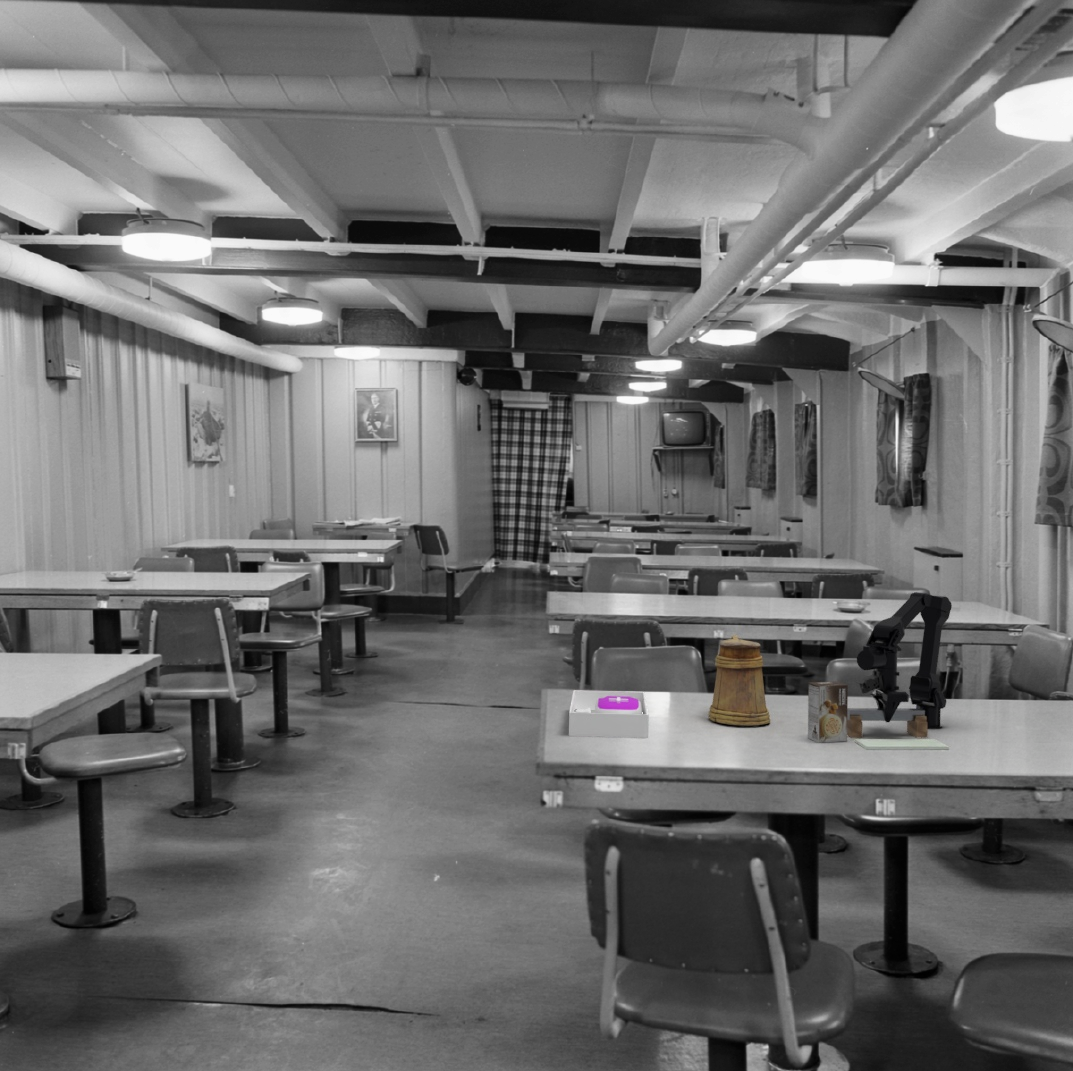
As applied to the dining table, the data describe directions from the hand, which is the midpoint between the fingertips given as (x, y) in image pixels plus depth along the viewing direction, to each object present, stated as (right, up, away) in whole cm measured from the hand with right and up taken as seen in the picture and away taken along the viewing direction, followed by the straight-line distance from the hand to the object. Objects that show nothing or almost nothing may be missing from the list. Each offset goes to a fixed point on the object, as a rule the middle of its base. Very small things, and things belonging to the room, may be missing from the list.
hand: (885, 720), depth 303 cm
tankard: (-39, -3, +19) cm, 44 cm away
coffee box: (-19, -4, -7) cm, 20 cm away
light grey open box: (-79, -3, +10) cm, 80 cm away
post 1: (-10, -4, 0) cm, 10 cm away
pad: (0, -5, -13) cm, 14 cm away
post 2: (+9, -4, +1) cm, 10 cm away
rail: (0, 0, 0) cm, 0 cm away
